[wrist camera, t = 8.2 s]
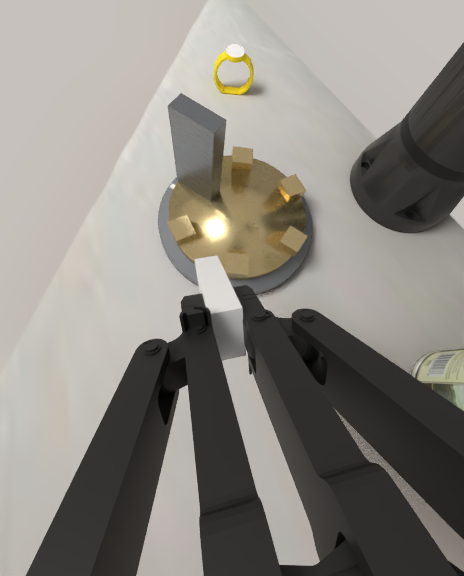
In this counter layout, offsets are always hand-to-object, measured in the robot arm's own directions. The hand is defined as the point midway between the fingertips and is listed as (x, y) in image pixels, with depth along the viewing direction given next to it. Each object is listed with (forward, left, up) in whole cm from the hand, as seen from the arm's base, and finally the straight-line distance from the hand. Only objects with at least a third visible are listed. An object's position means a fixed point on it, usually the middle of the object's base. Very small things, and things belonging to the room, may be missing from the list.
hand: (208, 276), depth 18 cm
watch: (-23, -30, -15) cm, 41 cm away
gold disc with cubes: (-10, -9, -13) cm, 19 cm away
